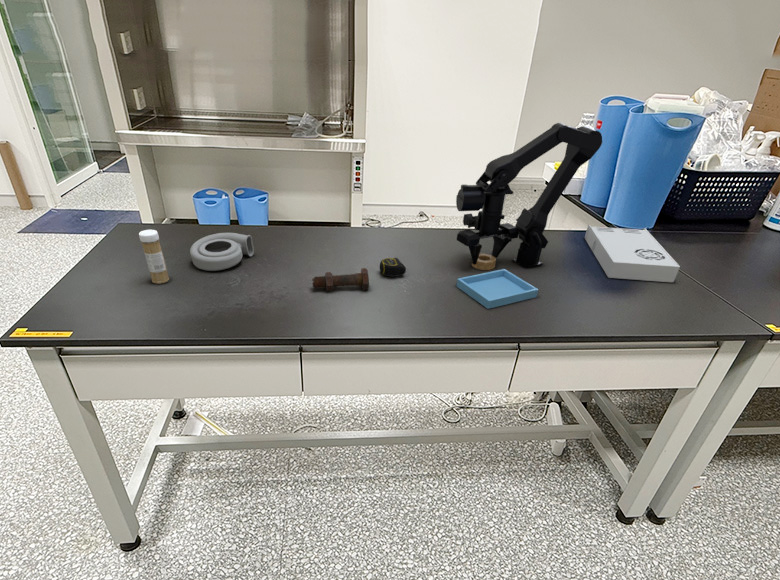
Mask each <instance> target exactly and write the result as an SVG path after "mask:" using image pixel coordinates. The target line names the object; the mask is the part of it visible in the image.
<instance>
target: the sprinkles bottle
mask: <svg viewBox="0 0 780 580" xmlns="http://www.w3.org/2000/svg"><path fill="white" fill-rule="evenodd" d="M138 237H139V241H140V242H141V245H142V249H143V253H144V257H145V260H146V265H147V267H148V271H149V275H150V277H151V278H150V279H151V282H152V283H153V284H157V285H158V284H159V285H161V284H165V283H167V282H169V281H170V277H169V274H168V270H167V264H166V261H165V257H164V254H163V251H162V247H161V243H160V236H159V232H158V231H157V230H156V229H144V230H141V231H140V232H139V233H138Z"/></svg>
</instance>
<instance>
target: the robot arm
mask: <svg viewBox="0 0 780 580" xmlns="http://www.w3.org/2000/svg"><path fill="white" fill-rule="evenodd" d="M603 142H604V141H603V135H602V133H601V132H600V131H599V130H596V129H594V128H591V127H589V126H585V125H583V126H582V125H581V126H579V127H577V128H576V127H572V126H569V125H566V124H564V123H561V122H557V123H554V124H553V125H552V126H551V127H549V128H548V129H546V130H545V131H544V132H542V133H541V134H539V135H538V136H536V137H535V138H533V139H532V140H530V141H529V142H528V143H526V144H525V145H523V146H522V147H520V148H519V149H517V150H515V151H514V152H512V153H509V154H505V155H501V156H499V157H497V158H495V159H492V160H491V161H489V162H488V163H487V164H486V167H485V170H484V171H483V172H482V175H480V177H479V178H478V179H477V181H476V182H475V184H461V185H460V189H459V190H458V192H457V194H456V199H455V205H456V209H457V211H458V212H476V211H477V212H478V213H477V215H473V213H464V214H463V218H462V225H463V226H467V229H463V230H459V231H458V232H457V233H456V241H457V242H458V243H460V244H462V245H464V246H465V247H468V249H469V253H470V257H471V264H472V263H473V264H474V265H476V262H477V260H478V257H479V254H481V250H482V248H483V244H480V241H481V240H482V239H483V240H484V239H488V238H492V240H493V245H492V252H491V253H492V254H491V255H492V256H494V257H495V258H496V259H497V258H498V257H499V256H500V255H501V253H502V251H503V250H504V249H505V248H506V247H507V246H508V244H509V243H511V242H512V240H513V239H519V240H521V241H522V242H520V244H519V247H518V248H517V253H516V258H513V259H512V262H515V263H516V264H518V265H520V266H522V267H523V268H525V269H529V268H534V267H538V266H542V265H543V262H541V261H540V259H541V254H542V249H545V248H546V247H547V245H548V244H549V240H548V239H547V238H546V236H545V235H544V231H545V230H546V227H547V223H548V218H549V214H550V213H551V212H552V210H553V208H554V207H555V205H556V203H557V202H558V201H559V199H560V198H561V196H562V195H563V193H564V191H565V190H566V188H567V187H568V185H569V184H570V182H571V181H572V180H573V178H574V176H575V175H576V173H577V172H578V170H579V169H580V167H581V166H583V165H584V164H586V163H587V162H588V161H590V160H591V159H592V158H593V157H594V155H596V153H597V152H599V150H600V148H601V146H602V144H603ZM562 143H565V144H566V148H565V153H564V154H565V155H564V156H563V157H564V158H563V159H562V161H561V163H560V164H559V166H558V167H557V169H556V171H555V172H554V174H553V175H552V177H551V178H550V180H549V181H548V183H547V185H546V186H545V188H544V189H543V191H542V193H540V196H539V197H538V198H537V201H536V202H535V204H534V205H533V206H532V207H530V208H529V209H527V208H526V207H524V208H523V209H522V210H521V212H520V215H519V216H518V217H517V218H516V220H515V221H516V223H515V225H514V224H511V223H509V222H506V223H501V221H502V220H505V217H506V215H505V214H503V210H504V205H505V199H506V195H513V194H514V191H513V190H512V189H511V187H510V183H512V181H513V180H515V179H516V178H517V177H518V175H519V174H520V172H521V171H522V170H523V169H524V168H526V167H527V166H529V165H530V164H531V163H533V162H535V161H536V160H537V159H539V158H540V157H542V156H543V155H545V154H546V153H548V152H549V151H551V150H553V149H554V148H555V147H558V145H560V144H562ZM471 228H474V230H475V231H477V232H475V231H473V230H472V229H471Z"/></svg>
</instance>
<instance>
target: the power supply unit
mask: <svg viewBox="0 0 780 580" xmlns="http://www.w3.org/2000/svg"><path fill="white" fill-rule="evenodd" d="M584 239H585V241H586V243H587V245H588V246H589V248H590V250H591V252H592V254H593V255H594V257H595V258H596V260H597V262H598V264H600V266H601V268H602V270H603V271H604V273H605V275H606V276H607V278H608V279H622V280H635V281H648V282H661V283H675V279H676V278H677V276H678V273H679V270H680V268H681V266H680V265H679V263H678V262H677V261H676V260H675V259H674V258H673V257H672V256H671V255H670V254H669V253H668V251H667V250H666V249H665V248H664V247H663V246H662V245H661V244H660V242H659V241H657V239H656V238H655V237H654V236H653V235H652V234H651V233H650V232H649V230H647V228H646V227H644V228H642V229H636V228H635V229H634V228H621V227H620V228H619V227H605V226H591V224H587V227H586V231H585V235H584Z"/></svg>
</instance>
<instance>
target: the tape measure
mask: <svg viewBox="0 0 780 580" xmlns="http://www.w3.org/2000/svg"><path fill="white" fill-rule="evenodd" d="M406 270H407V268H406V265H404V264H403V263H402V261H401V260H400V259H399V258H398V257H392V258H391V257H386V258H383V259H382V260H380V263H379V271H380V273H381V274H382V275H383V276H387V277H398V276H403V275H404V274H406V272H407V271H406Z"/></svg>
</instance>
